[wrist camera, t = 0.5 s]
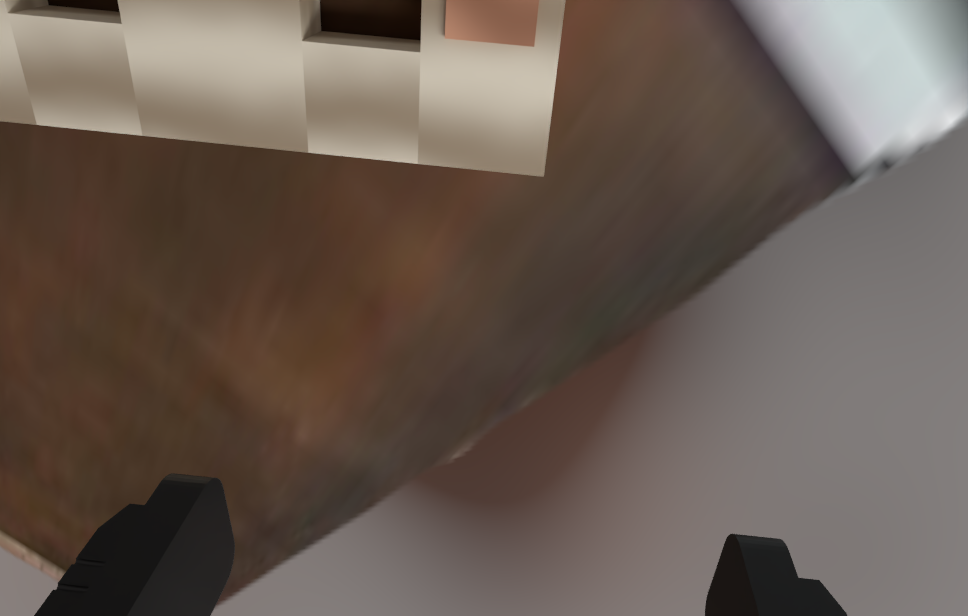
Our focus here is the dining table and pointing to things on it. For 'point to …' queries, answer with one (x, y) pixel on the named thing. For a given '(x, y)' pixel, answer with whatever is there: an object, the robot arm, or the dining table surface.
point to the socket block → (292, 78)
